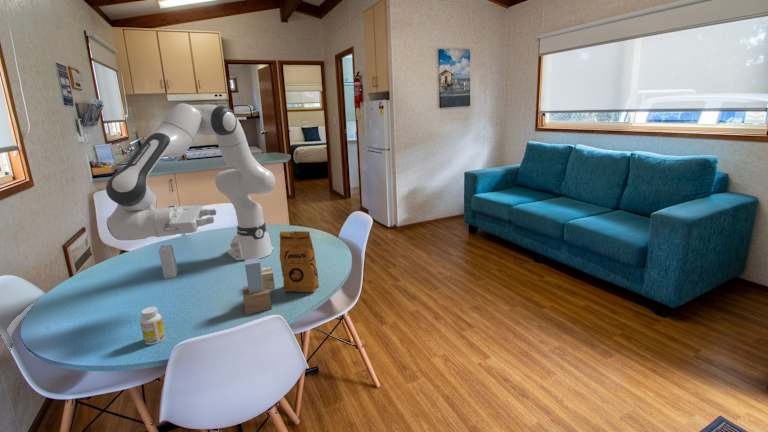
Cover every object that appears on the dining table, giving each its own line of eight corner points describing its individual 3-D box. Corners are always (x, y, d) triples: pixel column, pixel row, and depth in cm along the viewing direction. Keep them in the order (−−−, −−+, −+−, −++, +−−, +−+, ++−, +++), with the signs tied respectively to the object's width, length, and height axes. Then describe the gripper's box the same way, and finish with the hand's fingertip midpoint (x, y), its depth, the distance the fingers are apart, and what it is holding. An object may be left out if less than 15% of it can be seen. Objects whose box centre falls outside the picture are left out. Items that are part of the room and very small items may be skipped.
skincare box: (176, 277, 160) (170, 248, 157) (163, 279, 158) (158, 250, 155) (178, 271, 165) (172, 244, 162) (166, 273, 164) (160, 245, 161)
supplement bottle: (148, 347, 112) (141, 316, 109) (141, 341, 115) (134, 311, 113) (168, 338, 116) (162, 308, 113) (161, 332, 119) (154, 303, 117)
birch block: (256, 284, 149) (254, 269, 148) (272, 281, 151) (270, 266, 150) (257, 291, 144) (255, 275, 142) (274, 287, 146) (272, 272, 145)
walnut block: (246, 303, 135) (243, 286, 134) (270, 298, 138) (268, 282, 136) (245, 313, 128) (243, 296, 126) (271, 309, 130) (269, 292, 129)
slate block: (249, 293, 128) (245, 264, 126) (249, 288, 133) (245, 259, 130) (263, 291, 130) (259, 262, 127) (263, 285, 134) (259, 257, 131)
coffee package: (314, 295, 138) (308, 235, 133) (280, 294, 140) (273, 235, 135) (322, 283, 148) (317, 226, 142) (290, 282, 150) (284, 226, 144)
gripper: (159, 221, 116) (210, 215, 119) (171, 204, 134) (215, 199, 138) (163, 241, 117) (213, 234, 121) (175, 222, 136) (218, 216, 140)
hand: (214, 215), depth 130 cm, fingers open, 8 cm apart
